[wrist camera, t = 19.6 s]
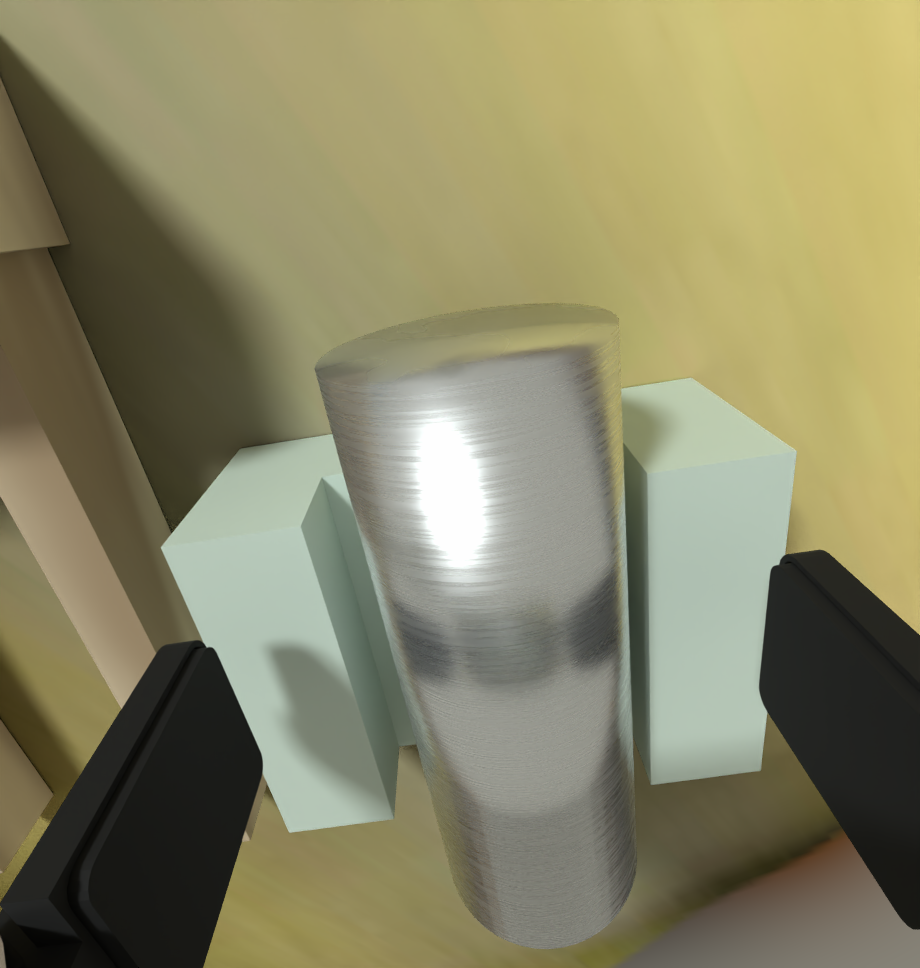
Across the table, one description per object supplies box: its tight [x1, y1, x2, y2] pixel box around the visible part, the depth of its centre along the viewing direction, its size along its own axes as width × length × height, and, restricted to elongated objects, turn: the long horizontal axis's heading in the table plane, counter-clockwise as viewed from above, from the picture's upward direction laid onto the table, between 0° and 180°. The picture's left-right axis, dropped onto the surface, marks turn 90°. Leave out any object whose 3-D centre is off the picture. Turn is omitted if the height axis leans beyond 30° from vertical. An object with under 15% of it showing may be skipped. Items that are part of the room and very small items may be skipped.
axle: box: [315, 303, 637, 949], centre depth 11 cm, size 12×4×4 cm, turn 9°
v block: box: [161, 378, 797, 833], centre depth 14 cm, size 11×8×4 cm
